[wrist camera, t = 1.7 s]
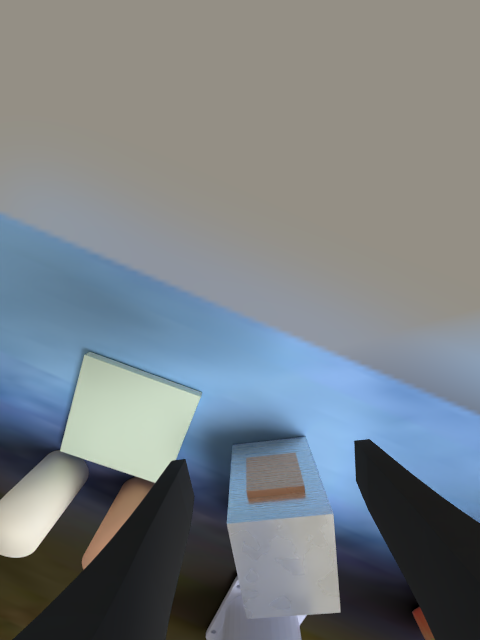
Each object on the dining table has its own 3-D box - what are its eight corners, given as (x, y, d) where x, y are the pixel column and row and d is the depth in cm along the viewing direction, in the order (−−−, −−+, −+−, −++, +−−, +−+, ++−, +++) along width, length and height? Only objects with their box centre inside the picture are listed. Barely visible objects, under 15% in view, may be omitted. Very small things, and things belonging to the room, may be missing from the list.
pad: (167, 479, 20) (165, 486, 19) (65, 445, 19) (60, 451, 19) (202, 392, 18) (200, 396, 17) (89, 351, 17) (84, 354, 17)
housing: (313, 517, 21) (340, 616, 15) (246, 523, 21) (247, 623, 15) (305, 431, 19) (332, 507, 13) (231, 439, 19) (225, 516, 13)
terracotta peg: (158, 518, 21) (132, 594, 16) (115, 504, 21) (76, 577, 16) (171, 485, 20) (148, 555, 15) (127, 470, 20) (89, 536, 15)
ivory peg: (83, 494, 21) (33, 564, 16) (38, 479, 20) (-26, 547, 15) (93, 459, 20) (43, 522, 15) (47, 443, 20) (-19, 503, 15)
